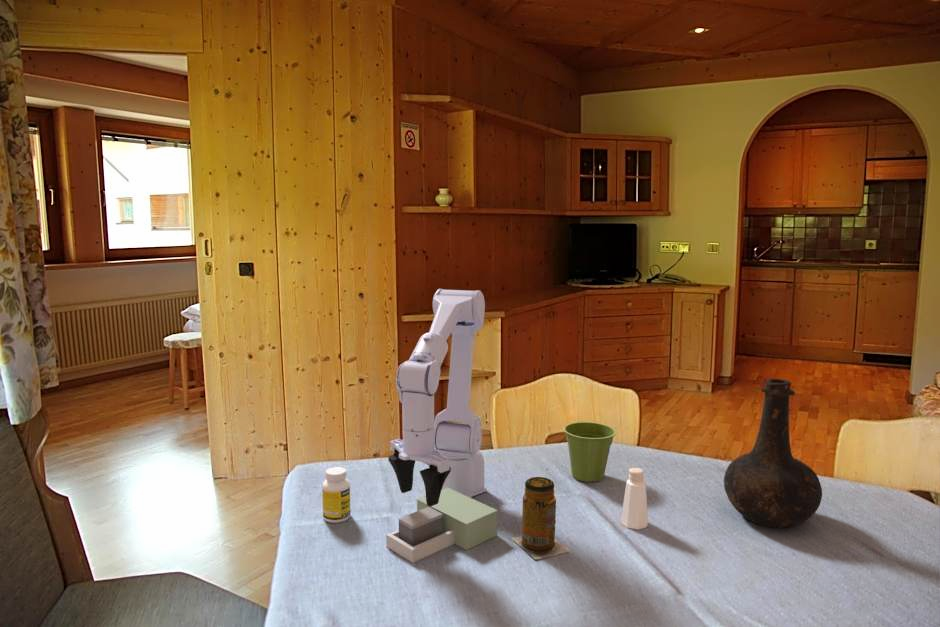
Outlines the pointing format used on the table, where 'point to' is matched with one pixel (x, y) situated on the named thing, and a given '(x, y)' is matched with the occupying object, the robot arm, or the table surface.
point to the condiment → (539, 520)
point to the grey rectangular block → (420, 526)
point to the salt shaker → (635, 501)
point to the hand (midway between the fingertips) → (419, 497)
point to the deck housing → (450, 526)
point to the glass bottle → (773, 470)
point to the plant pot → (588, 449)
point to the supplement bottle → (336, 495)
